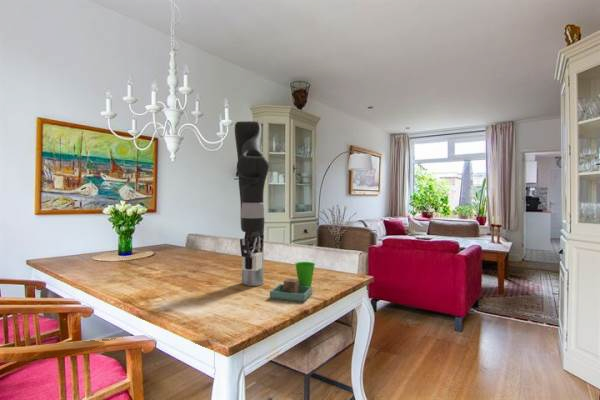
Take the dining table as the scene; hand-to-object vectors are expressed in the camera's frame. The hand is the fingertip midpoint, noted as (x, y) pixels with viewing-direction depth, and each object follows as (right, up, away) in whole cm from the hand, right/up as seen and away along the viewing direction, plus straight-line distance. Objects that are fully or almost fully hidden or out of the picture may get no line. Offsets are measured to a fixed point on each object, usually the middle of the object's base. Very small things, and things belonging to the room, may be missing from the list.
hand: (252, 267), depth 107 cm
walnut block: (+12, -16, +24) cm, 32 cm away
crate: (+12, -17, +24) cm, 32 cm away
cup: (+18, -17, +36) cm, 44 cm away
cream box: (0, 0, 0) cm, 0 cm away
